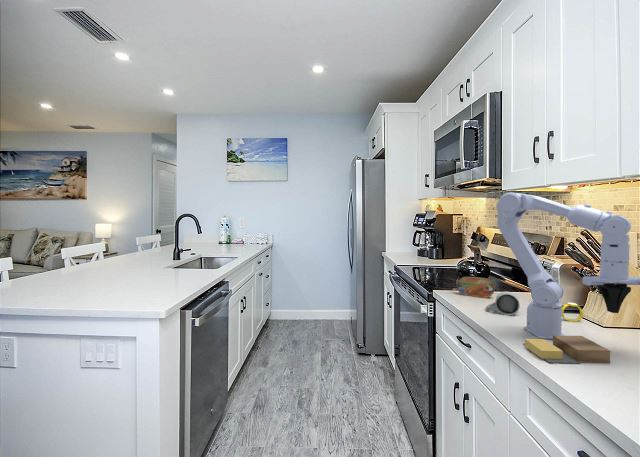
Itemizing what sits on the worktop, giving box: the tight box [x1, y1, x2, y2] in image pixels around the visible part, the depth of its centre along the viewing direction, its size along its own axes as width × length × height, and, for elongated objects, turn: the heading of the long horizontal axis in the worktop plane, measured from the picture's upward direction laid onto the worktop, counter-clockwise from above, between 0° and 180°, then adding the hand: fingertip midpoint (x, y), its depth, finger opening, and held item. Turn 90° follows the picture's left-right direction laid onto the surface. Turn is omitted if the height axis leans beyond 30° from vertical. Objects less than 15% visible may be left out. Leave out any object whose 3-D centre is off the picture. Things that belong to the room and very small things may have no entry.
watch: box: [562, 302, 584, 322], centre depth 115 cm, size 6×3×6 cm, turn 74°
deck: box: [552, 335, 612, 364], centre depth 88 cm, size 10×8×3 cm
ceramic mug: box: [485, 291, 520, 316], centre depth 126 cm, size 11×8×8 cm
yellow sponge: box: [524, 338, 563, 360], centre depth 89 cm, size 8×5×2 cm, turn 176°
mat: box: [522, 342, 581, 365], centre depth 89 cm, size 12×7×1 cm, turn 176°
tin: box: [456, 276, 496, 299], centre depth 149 cm, size 15×3×8 cm, turn 55°
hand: (612, 312), depth 91 cm, fingers closed
